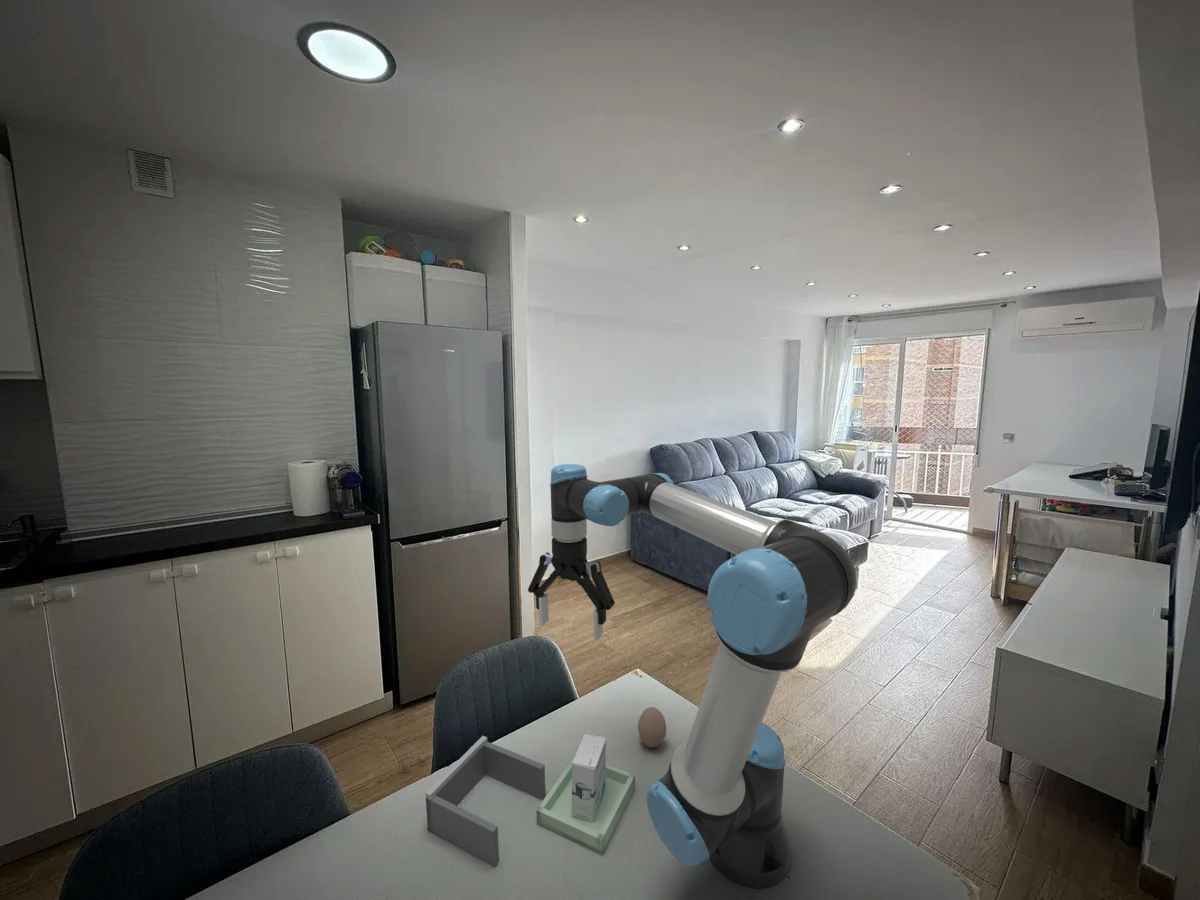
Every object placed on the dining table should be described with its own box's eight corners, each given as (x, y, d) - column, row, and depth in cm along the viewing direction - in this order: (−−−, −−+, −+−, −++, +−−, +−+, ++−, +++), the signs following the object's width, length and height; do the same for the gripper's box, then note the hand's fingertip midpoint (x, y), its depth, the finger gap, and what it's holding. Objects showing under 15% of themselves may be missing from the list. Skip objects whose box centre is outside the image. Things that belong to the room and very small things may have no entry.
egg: (653, 760, 107) (653, 723, 106) (632, 743, 112) (632, 708, 111) (672, 745, 112) (672, 709, 111) (651, 730, 117) (651, 695, 115)
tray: (635, 787, 100) (635, 774, 100) (601, 854, 86) (601, 840, 85) (576, 764, 106) (576, 752, 106) (536, 823, 92) (536, 810, 92)
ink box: (584, 781, 101) (583, 731, 99) (607, 787, 99) (607, 736, 98) (570, 817, 92) (569, 762, 91) (595, 823, 91) (595, 768, 90)
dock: (545, 795, 98) (544, 760, 97) (494, 867, 84) (493, 826, 83) (484, 768, 105) (482, 735, 104) (427, 830, 91) (425, 792, 90)
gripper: (630, 539, 100) (629, 634, 103) (530, 524, 110) (532, 610, 113) (615, 551, 93) (615, 652, 96) (510, 534, 104) (513, 625, 107)
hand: (570, 630), depth 105 cm, fingers open, 13 cm apart
